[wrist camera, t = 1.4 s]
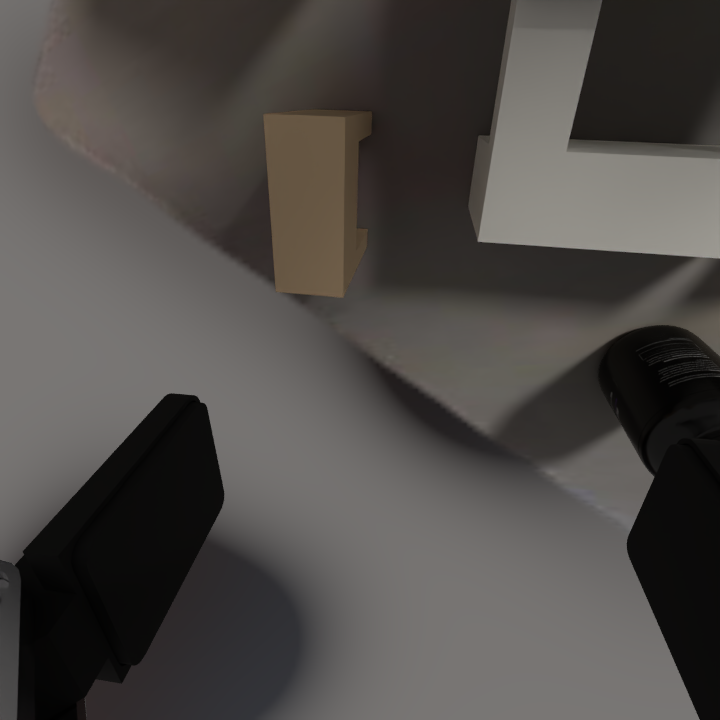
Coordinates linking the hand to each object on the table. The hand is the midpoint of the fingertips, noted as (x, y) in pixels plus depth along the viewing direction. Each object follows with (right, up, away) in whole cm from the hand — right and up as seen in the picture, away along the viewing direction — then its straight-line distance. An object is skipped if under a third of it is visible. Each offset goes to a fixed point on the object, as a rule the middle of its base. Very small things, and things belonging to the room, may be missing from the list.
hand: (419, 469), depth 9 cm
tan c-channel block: (-2, +14, +19) cm, 23 cm away
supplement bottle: (+19, +2, +22) cm, 29 cm away
